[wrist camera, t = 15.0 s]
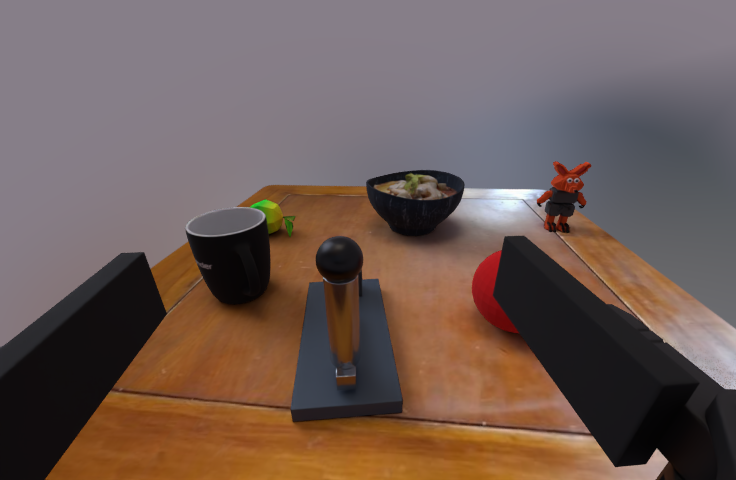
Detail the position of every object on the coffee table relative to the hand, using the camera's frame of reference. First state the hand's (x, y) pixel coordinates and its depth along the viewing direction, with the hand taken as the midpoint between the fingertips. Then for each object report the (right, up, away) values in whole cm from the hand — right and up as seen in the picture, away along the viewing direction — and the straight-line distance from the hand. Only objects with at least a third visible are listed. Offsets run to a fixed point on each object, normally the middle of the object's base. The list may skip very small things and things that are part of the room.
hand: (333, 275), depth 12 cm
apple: (-16, +3, +47) cm, 50 cm away
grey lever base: (-1, -9, +22) cm, 24 cm away
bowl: (+10, +4, +48) cm, 50 cm away
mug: (-15, -6, +29) cm, 33 cm away
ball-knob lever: (-1, -9, +19) cm, 20 cm away
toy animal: (+36, +3, +46) cm, 59 cm away
